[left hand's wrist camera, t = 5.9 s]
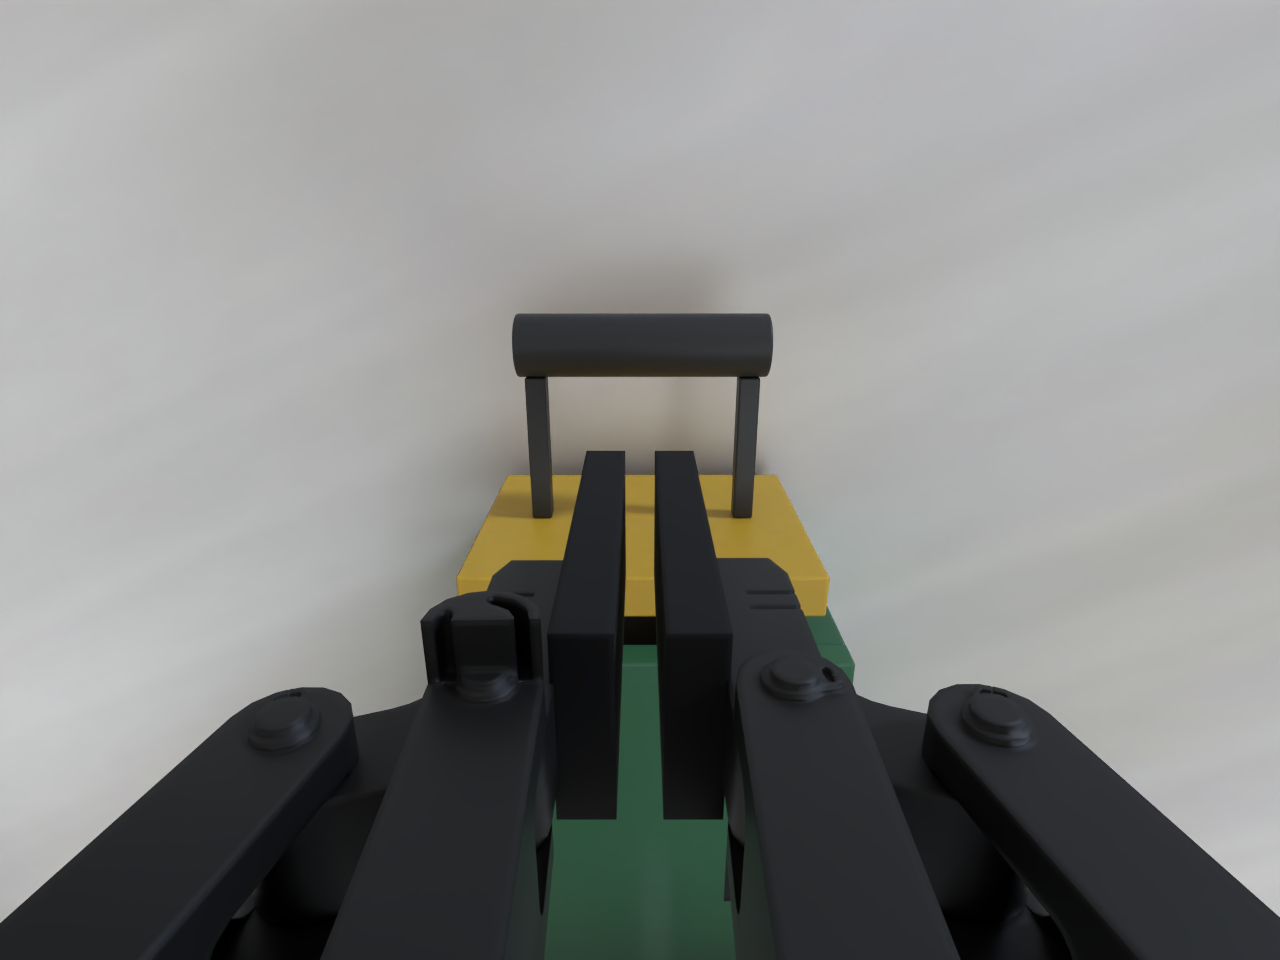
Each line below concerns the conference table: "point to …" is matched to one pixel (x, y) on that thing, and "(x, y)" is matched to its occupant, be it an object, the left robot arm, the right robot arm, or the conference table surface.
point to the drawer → (735, 504)
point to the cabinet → (648, 847)
